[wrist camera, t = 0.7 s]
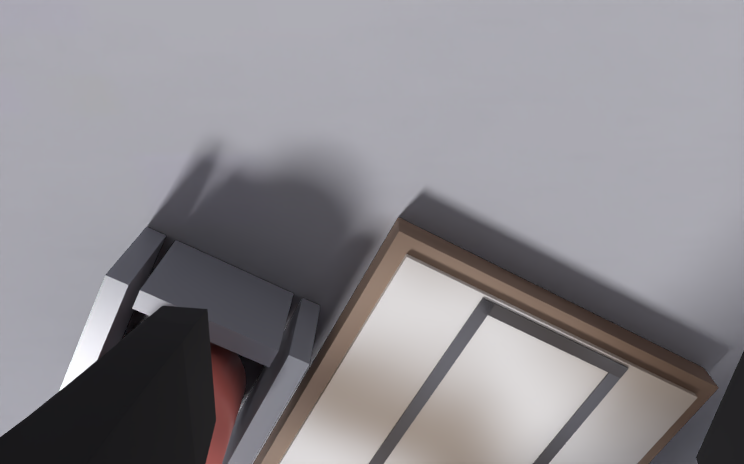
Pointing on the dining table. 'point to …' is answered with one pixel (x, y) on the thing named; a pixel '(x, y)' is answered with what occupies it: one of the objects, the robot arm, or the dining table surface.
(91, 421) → the robot arm
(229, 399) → the button
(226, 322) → the button housing
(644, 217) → the dining table surface
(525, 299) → the brown flat wooden board
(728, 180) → the dining table surface
